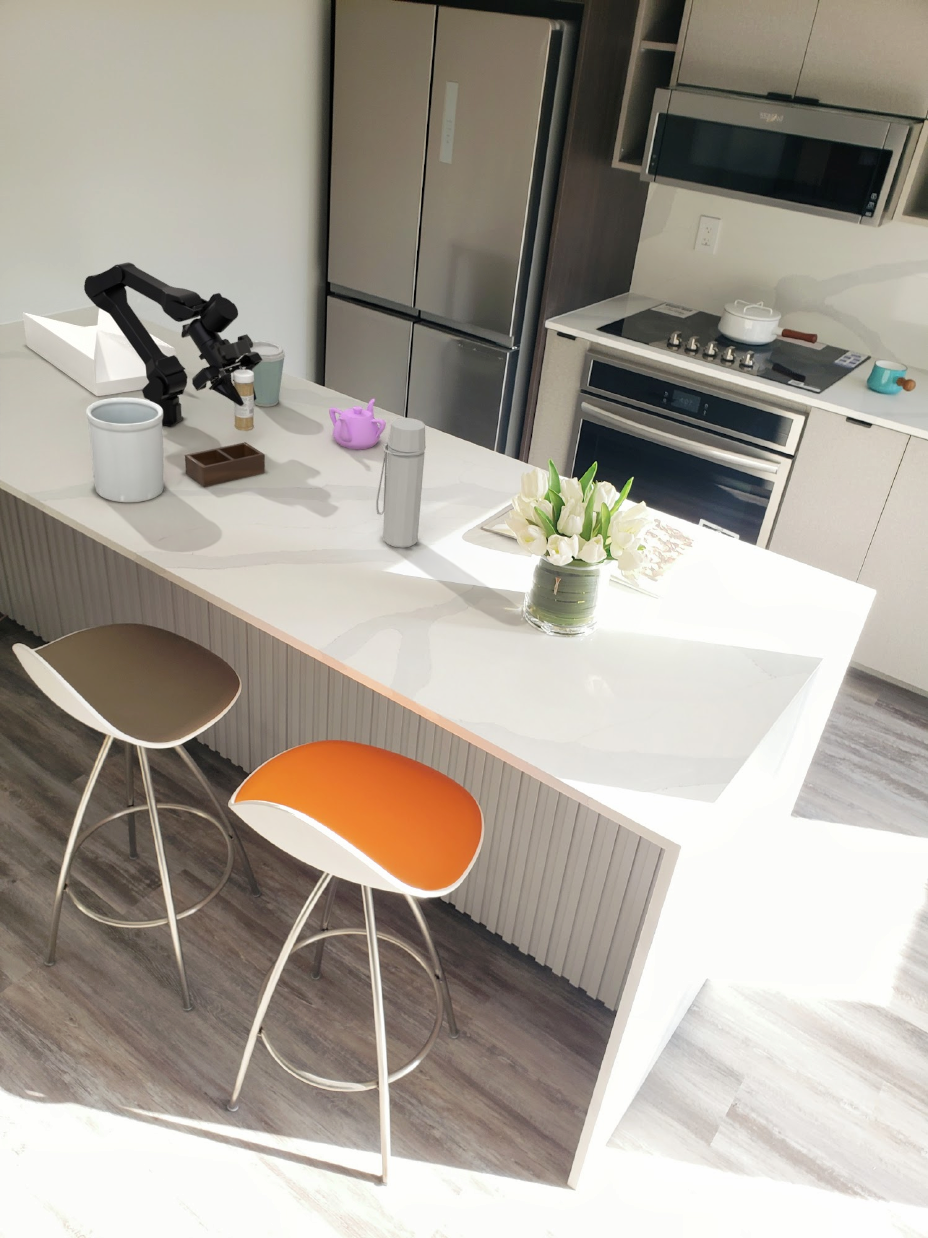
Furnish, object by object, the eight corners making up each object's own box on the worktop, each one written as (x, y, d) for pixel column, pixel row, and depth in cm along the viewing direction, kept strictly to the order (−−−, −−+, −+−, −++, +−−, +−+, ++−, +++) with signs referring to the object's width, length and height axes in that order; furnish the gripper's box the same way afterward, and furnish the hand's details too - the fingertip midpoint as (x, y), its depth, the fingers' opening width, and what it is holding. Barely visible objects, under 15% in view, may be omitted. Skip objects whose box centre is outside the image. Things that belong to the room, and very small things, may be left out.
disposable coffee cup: (293, 403, 265) (294, 346, 257) (265, 413, 257) (265, 355, 249) (263, 392, 270) (262, 336, 262) (234, 402, 262) (233, 345, 254)
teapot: (338, 453, 240) (339, 417, 235) (326, 431, 251) (327, 397, 246) (386, 451, 244) (388, 416, 239) (372, 430, 255) (374, 396, 250)
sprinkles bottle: (243, 422, 238) (242, 367, 231) (258, 428, 236) (258, 372, 229) (229, 427, 234) (228, 371, 227) (244, 433, 233) (244, 376, 226)
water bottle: (423, 537, 207) (433, 421, 194) (409, 553, 201) (418, 434, 188) (382, 527, 209) (389, 412, 196) (367, 542, 203) (373, 424, 190)
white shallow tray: (177, 383, 269) (175, 348, 264) (97, 396, 256) (93, 359, 251) (102, 336, 296) (99, 303, 291) (26, 345, 283) (22, 311, 278)
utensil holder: (182, 486, 216) (178, 408, 207) (135, 510, 205) (128, 429, 196) (127, 468, 221) (121, 391, 212) (78, 492, 209) (69, 411, 200)
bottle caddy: (185, 473, 222) (184, 454, 220) (245, 460, 231) (245, 441, 229) (204, 487, 217) (203, 467, 215) (264, 472, 226) (264, 454, 224)
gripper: (200, 332, 217) (241, 395, 219) (256, 316, 232) (294, 375, 233) (174, 359, 224) (214, 419, 226) (229, 342, 239) (266, 399, 240)
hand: (248, 402), depth 231 cm, fingers closed on sprinkles bottle, 4 cm apart
